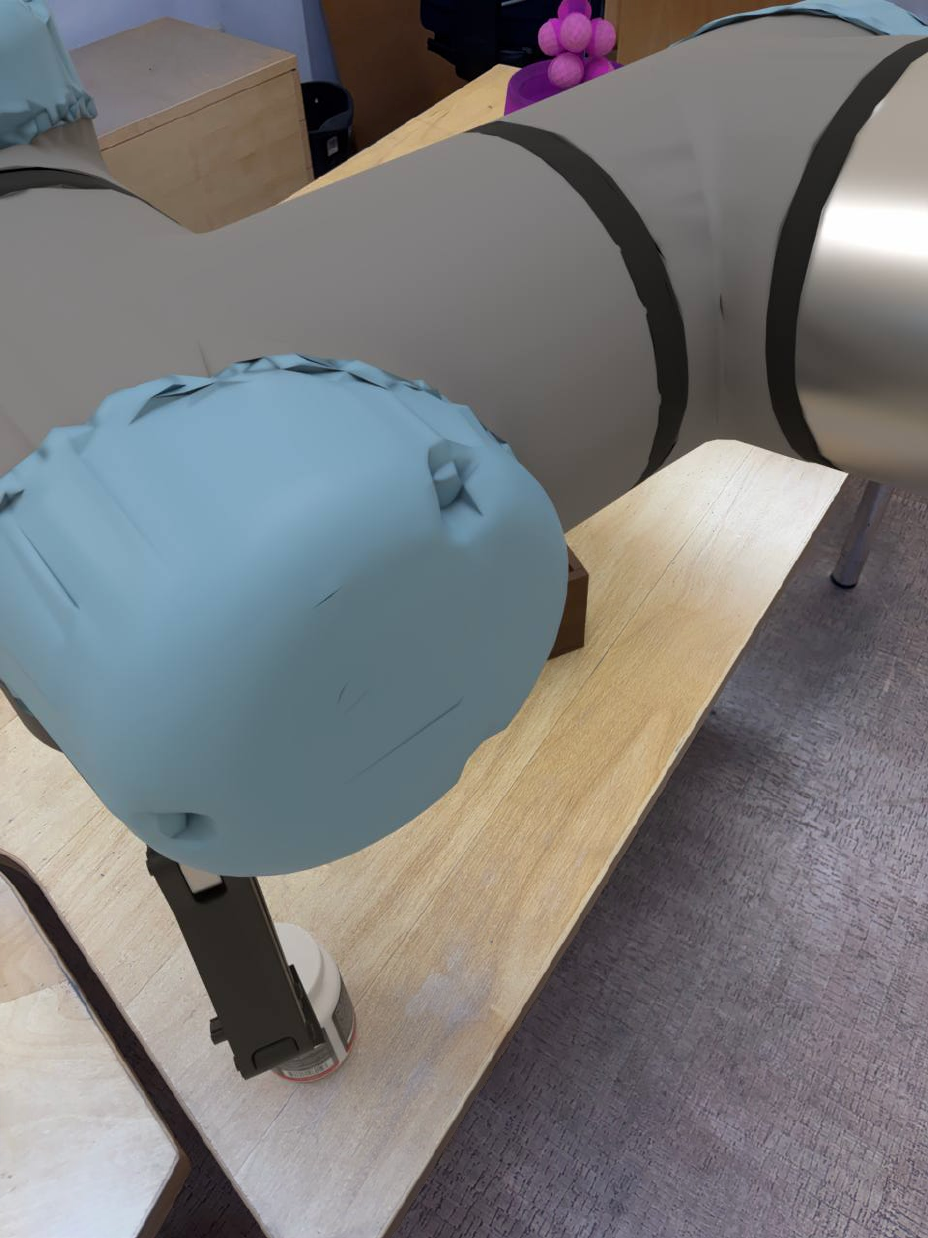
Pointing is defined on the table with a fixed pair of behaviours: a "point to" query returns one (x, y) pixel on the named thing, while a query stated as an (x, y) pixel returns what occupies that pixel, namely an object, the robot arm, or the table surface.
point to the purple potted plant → (564, 56)
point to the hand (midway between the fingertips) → (249, 906)
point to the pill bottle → (318, 1004)
